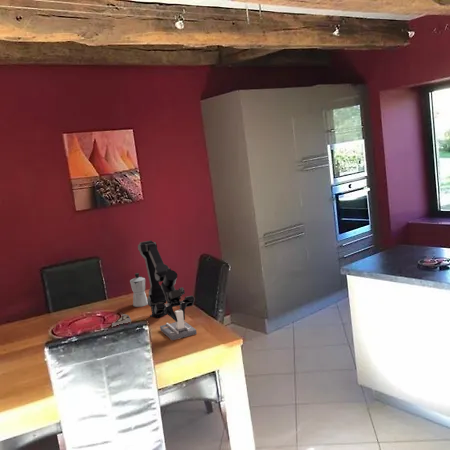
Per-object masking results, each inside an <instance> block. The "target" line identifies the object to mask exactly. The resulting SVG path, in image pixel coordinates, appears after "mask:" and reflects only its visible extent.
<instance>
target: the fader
mask: <svg viewBox="0 0 450 450" xmlns="http://www.w3.org/2000/svg"><path fill="white" fill-rule="evenodd" d="M173 311H174V310H173ZM174 313H175V315H176V318H177V322H176V321H175V322H176V328H175V329H176V330H177V331H178V332H179V331H183V330H186V327H185V325H184V321H185V320H184V317H183V311H182V310H179V309H178V310H175V311H174Z"/></svg>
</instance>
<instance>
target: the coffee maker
mask: <svg viewBox="0 0 450 450" xmlns="http://www.w3.org/2000/svg"><path fill="white" fill-rule="evenodd" d="M134 276H135V277H134V278H132V279H130V280H129V283H130V287H131V290H132V292H133V293H132V306H133V307H135V308H142V307H144V306H145V307H146V306H148V302H147V300H148V297H147V294H146V278H145V277H143V276H142V275H141V276H140V273H139V272H136V273H134Z"/></svg>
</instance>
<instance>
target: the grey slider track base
mask: <svg viewBox="0 0 450 450" xmlns="http://www.w3.org/2000/svg"><path fill="white" fill-rule="evenodd" d="M184 325H185V327H186V330H183V331H179V332H178V331H177V330H176V329H175V328H176V321H175V322H172V323H169V322H166V324H163V325H160V326H159V328H160V329H159V330H160V331H161V332H162V333H163V334H164V335H165V336H166V337H168V338H169V340H171V341H175V340H180V339H183V338H186V337H190V336H194V335H197V329H196V328H195V327H193V326H192V325H190V324H189V323H188V322H187V321H185V320H184Z"/></svg>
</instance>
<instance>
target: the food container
mask: <svg viewBox="0 0 450 450" xmlns="http://www.w3.org/2000/svg"><path fill="white" fill-rule="evenodd" d="M128 322H130V323H132V318H131V317H130V315H128V314H121V317H119V318H118V319H116V321H115V322H112V323H111V328H112V327H113V326H116V325H119V324H123V323H128Z"/></svg>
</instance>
